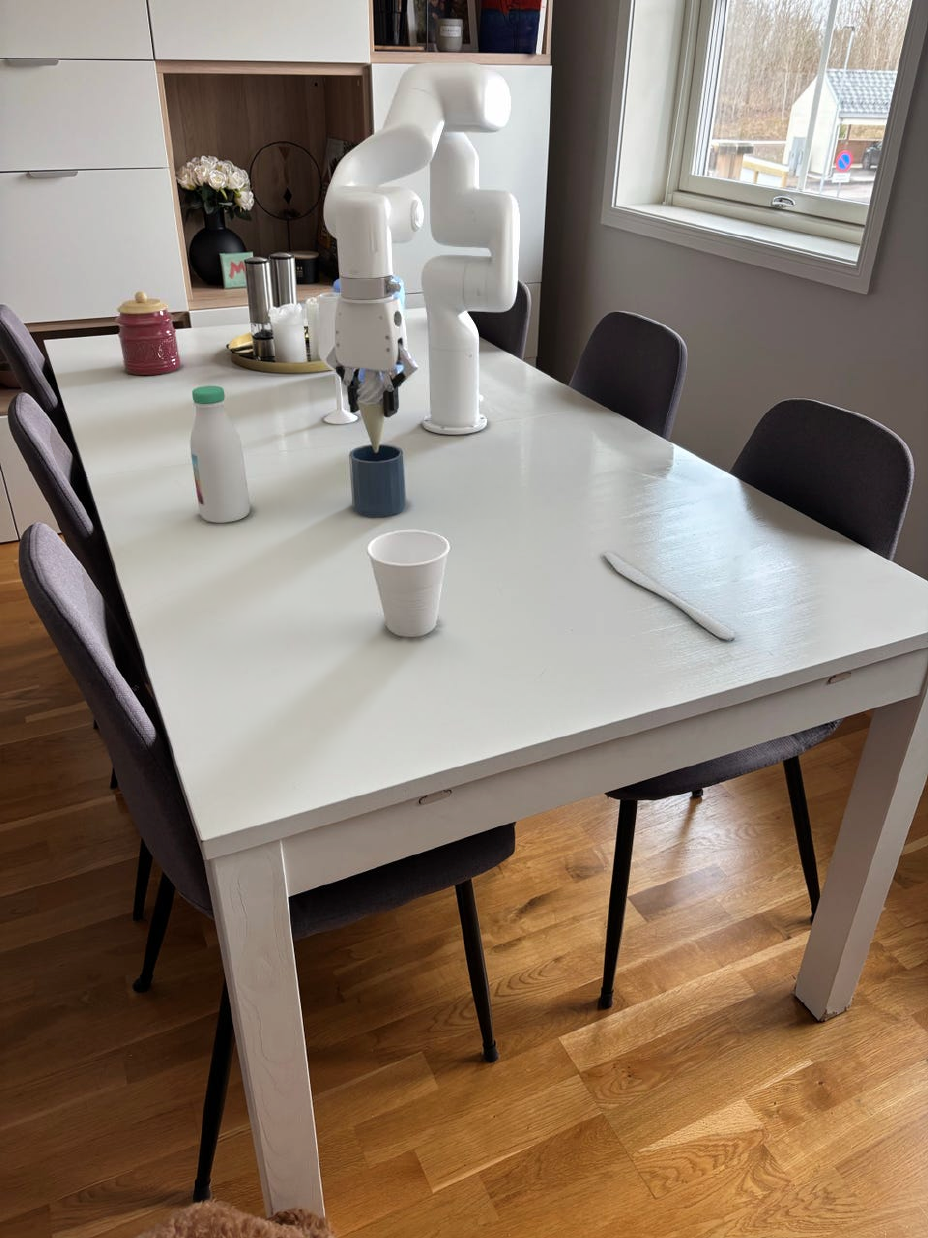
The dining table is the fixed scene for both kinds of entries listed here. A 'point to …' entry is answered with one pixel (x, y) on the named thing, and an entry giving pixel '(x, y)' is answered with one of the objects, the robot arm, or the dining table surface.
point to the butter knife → (670, 597)
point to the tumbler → (377, 480)
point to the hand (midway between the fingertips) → (373, 411)
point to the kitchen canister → (147, 336)
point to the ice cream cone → (372, 405)
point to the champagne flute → (325, 347)
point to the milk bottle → (217, 459)
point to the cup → (409, 578)
